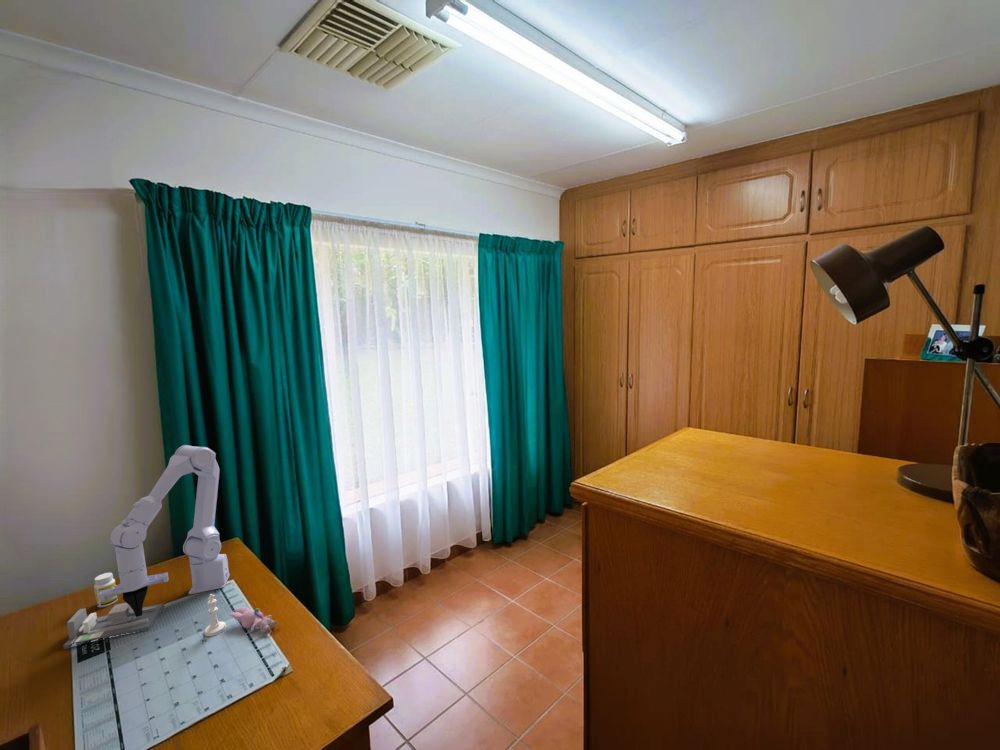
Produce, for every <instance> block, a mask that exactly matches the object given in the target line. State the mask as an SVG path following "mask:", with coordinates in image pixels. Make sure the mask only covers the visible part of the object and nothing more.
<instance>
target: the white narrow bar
mask: <svg viewBox="0 0 1000 750" xmlns="http://www.w3.org/2000/svg"><path fill="white" fill-rule="evenodd" d="M97 615H98V613H97V612H91V613H90V614H89V615H87V618H86V619H85V621H84V622H83V623H82V627H81V628H80V629H79V632H81V631H82V630H83V632H84V633H87V632H89V631H91V629H92V628H93V627H94V626H95V625H96V619H97V617H98V616H97Z"/></svg>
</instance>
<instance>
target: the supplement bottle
mask: <svg viewBox="0 0 1000 750" xmlns="http://www.w3.org/2000/svg"><path fill="white" fill-rule="evenodd" d="M116 583H117V582H116V579H115V578H114V575H113V573H112V572H104V573H102V574H98V575H97V576H96V577H94V586H93V591H94V595H95V602H96V606H97V608H105V607H109V606H111V605H114V603H116V602H118V600H119V595H117V596H113V597H110V598H106V599H105V600H103V601H100V599H99V593H100V591H103V590H106V589H109V588H111V587H114V586H116V585H117V584H116Z"/></svg>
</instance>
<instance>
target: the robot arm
mask: <svg viewBox="0 0 1000 750" xmlns="http://www.w3.org/2000/svg"><path fill="white" fill-rule="evenodd" d="M216 455H217V453H216V452H215V451H214V450H212V449H211V448H209V447H208V446H207V447H206V446H195V445H194V446H192V445H190V444H189V445H188V444H183V445H181V446H180V447H178V448H177V449H176V450H175V452H174V454H172V455H171V457H170V458H169V461H168V465H167V467H166V468H165V469H164V471H163V473H162V474H161V476H160V477H159V479H158V480H157V482H156V483H155V485H154V487H153V488H152V489H151V491H150V493H149V494H148V495H147V496H144V497H141V498H140V499H139V500H138V501H135V502H134V504H133V505H132V507H133V508H132V509H131V511H130V512H129V514H128V515H127V516H126V518H125V519H123V520H122V521H121V523H120V524H119V525H118V526H116V527H114V528H113V530H112V531H111V533H110V537H109V538H108V542H109V543H110V544H111V545H113V546H114V549H115V556H116V565H117V571H118V576H119V584H116V586H114V587H111V588H109V589H106V590H103V591H100V593H99V599H100V601H103V600H105V599H106V598H110V597H113V596H120V595H122V600H123V601H124V603H127V604H128V605H129V606H130V607H131V608H132V610H133V611H134V613H135V615H136V617H138V616H141V615H142V608H143V607H144V601H145V598H146V595H147V593H148V589H149V587H151V586H153V585H156V584H157V585H158V584H160V583H168V582H169V573H168V572H162V573H156V574H152V575H148V570H147V564H146V558H145V550H144V545H143V542H144V541H145V540H147V539H146V538H147V536H148V535H147V530H148V529H149V527H150V524H152V522H153V521H154V519H155V517H156V516H157V515H158V513H159V512H160V511H161V510H162V507H163V504H162V500H163V499H164V498H165V497H166V496H167V494H168V493H169V491H171V490H172V488H173V487H174V485H175V484H177V481H179V479H180V478H181V477H182V476H185V475H188V474H192V473H194V474H196V475H197V476H198V477H197V486H196V496H195V497H196V498H195V508H194V518H193V527H192V528H191V529H190V530H188V532H187V537H186V539H185V541H184V543H183V545H182V550H183V553H184V554H185V555H186V556H188V560H189V568H190V574H191V581H192V583H191V584H192V586H191V588H190V589H189V591H188V593H187V594H188V595H189V596H191V595H194V594H199V593H203V592H207V591H214V590H217V589H218V590H219V589H222V588H225V587H226V584H227V582H228V580H229V578H230V575H231V574H230V570H229V560H228V556H227V554H226V553H220V552H221V550H222V543H221V540H220V532H219V531H218V529H217V528H216V527H215V522H216V521H215V520H216V511H217V502H218V501H217V500H218V490H219V480H220V472H221V471H220V467H219V464H218V462H217V460H216V457H217V456H216Z"/></svg>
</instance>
